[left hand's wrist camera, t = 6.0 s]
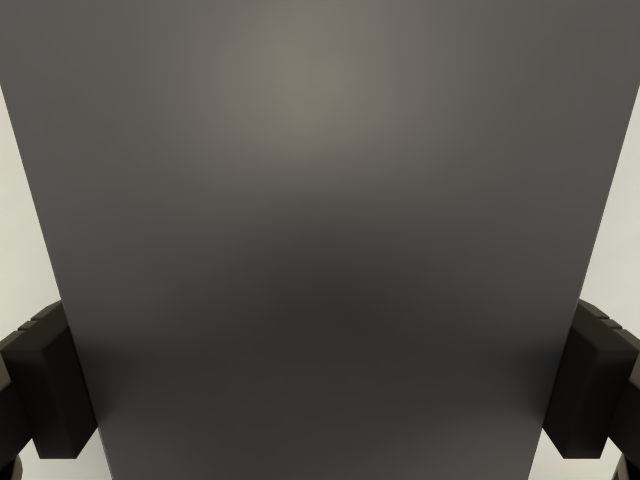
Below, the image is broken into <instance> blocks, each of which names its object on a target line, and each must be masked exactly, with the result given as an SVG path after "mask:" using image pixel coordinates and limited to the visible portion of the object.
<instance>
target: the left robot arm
mask: <svg viewBox="0 0 640 480" xmlns="http://www.w3.org/2000/svg"><path fill="white" fill-rule="evenodd" d="M542 428H543V429H544V431H545V432H546V433H547V435H548V436H549V438H550V439H551V441H552V442H553V444H554V445H555V447H556V448H557V450H558V451H559V453H560V454H561V456H562V457H563V459H600V457H601V454H602V452H603V449H604V446H605V443H606V441H607V438H608V437H609V438H610V439H611V440H612V441H613V443H614V444H615V445H616V446H617V447H618V448H619V450H620V451H621V452H622V455H621V457H620V460H619V462H618V465H617V467H616V470H615V472H614V475H613V477H612V480H640V340H639V339H638V338H637V337H635V336H634V335H633V334H631V333H630V332H629V331H627V330H626V329H622V326H621V325H619V324H618V323H617V322H615V321H614V320H613V319H609V316H607V315H606V314H605V313H603V312H602V311H601V310H599V309H598V308H597V307H595V306H594V305H592V304H590V303H588V302H585V301H583V300H581V299H579V300H578V304H577V307H576V311H575V314H574V318H573V321H572V325H571V329H570V332H569V336H568V339H567V343H566V346H565V350H564V353H563V357H562V360H561V364H560V367H559V371H558V374H557V378H556V381H555V385H554V388H553V392H552V396H551V399H550V403H549V406H548V410H547V413H546V417H545V420H544V424H543V427H542ZM96 429H97V424H96V420H95V416H94V413H93V409H92V406H91V402H90V399H89V395H88V392H87V388H86V385H85V381H84V378H83V374H82V371H81V367H80V364H79V360H78V357H77V353H76V350H75V346H74V342H73V339H72V335H71V332H70V328H69V325H68V321H67V318H66V314H65V311H64V307H63V304H62V300H60V301H57V302H55V303H53V304H51V305H49V306H47V307H45V308H44V309H43V310H41V311H40V312H39V313H37V314H36V315H35V316H33V317H32V318H31V320H30V321H27V322H26V323H24V324H23V325H22V326H20V327H19V328H18V330H17V331H14V332H12V333H11V334H10V335H8V336H7V337H6V338H4V339H3V340H2V341H0V480H21V478H22V472H23V468H22V462H21V460H20V457H19V455H18V454H19V453H20V451H21V450H22V449H23V448H24V447H25V446H26V444H27V443H28V442H29V441H30V440H31V438H32V439H33V442H34V445H35V447H36V450H37V453H38V455H39V458H40V459H76V458H77V457H78V455H79V454H80V452H81V451H82V449H83V448H84V446H85V445H86V443H87V442H88V440H89V439H90V437H91V436H92V435H93V433H94V432H95V430H96Z"/></svg>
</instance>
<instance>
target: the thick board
mask: <svg viewBox="0 0 640 480" xmlns="http://www.w3.org/2000/svg"><path fill="white" fill-rule="evenodd" d="M0 85H1V89H2V92H3V96H4V99H5V103H6V106H7V110H8V113H9V117H10V120H11V124H12V127H13V131H14V135H15V138H16V142H17V145H18V149H19V152H20V156H21V159H22V163H23V166H24V170H25V173H26V177H27V180H28V184H29V187H30V191H31V194H32V198H33V202H34V205H35V209H36V212H37V216H38V219H39V223H40V226H41V230H42V233H43V237H44V240H45V244H46V247H47V251H48V254H49V258H50V261H51V265H52V268H53V272H54V276H55V279H56V283H57V286H58V290H59V293H60V297H61V300H62V304H63V307H64V311H65V314H66V318H67V321H68V325H69V328H70V332H71V335H72V339H73V342H74V346H75V350H76V353H77V357H78V360H79V364H80V367H81V371H82V374H83V378H84V381H85V385H86V388H87V392H88V395H89V399H90V402H91V406H92V409H93V413H94V416H95V420H96V424H97V427H98V431H99V434H100V438H101V441H102V445H103V448H104V452H105V455H106V459H107V462H108V466H109V469H110V473H111V476H112V480H528V477H529V473H530V470H531V466H532V463H533V459H534V455H535V452H536V448H537V445H538V441H539V438H540V434H541V431H542V427H543V424H544V420H545V417H546V413H547V410H548V406H549V403H550V399H551V396H552V392H553V388H554V385H555V381H556V378H557V374H558V371H559V367H560V364H561V360H562V357H563V353H564V350H565V346H566V343H567V339H568V336H569V332H570V329H571V325H572V321H573V318H574V314H575V311H576V307H577V304H578V300H579V297H580V293H581V290H582V286H583V283H584V279H585V276H586V272H587V269H588V265H589V262H590V258H591V255H592V251H593V247H594V244H595V240H596V237H597V233H598V230H599V226H600V223H601V219H602V216H603V212H604V209H605V205H606V202H607V198H608V195H609V191H610V188H611V184H612V180H613V177H614V173H615V170H616V166H617V163H618V159H619V156H620V152H621V149H622V145H623V142H624V138H625V135H626V131H627V128H628V124H629V121H630V117H631V113H632V110H633V106H634V103H635V99H636V96H637V92H638V89H639V85H640V0H0Z"/></svg>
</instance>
